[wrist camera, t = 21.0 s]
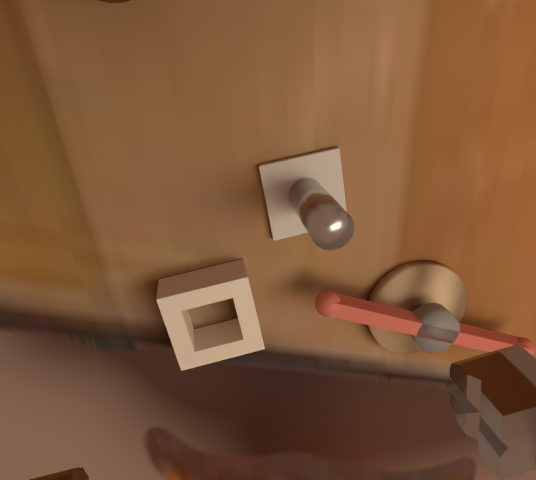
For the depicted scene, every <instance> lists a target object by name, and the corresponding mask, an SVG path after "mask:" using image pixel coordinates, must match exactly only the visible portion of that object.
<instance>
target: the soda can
mask: <svg viewBox="0 0 536 480" xmlns="http://www.w3.org/2000/svg"><path fill="white" fill-rule="evenodd" d="M99 1H103V2H107V3H122V2H127V1H130V0H99Z"/></svg>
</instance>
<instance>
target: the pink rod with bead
mask: <svg viewBox="0 0 536 480" xmlns="http://www.w3.org/2000/svg"><path fill="white" fill-rule="evenodd" d="M315 306H316V309H317V311H318V312H319V313H320V314H322V315H324V316H329V317H334V318H338V319H343V320H347V321H352V322H356V323H361V324H365V325H370V326H374V327H379V328H383V329H388V330H392V331H397V332H401V333H406V334H409V335H410V336H411V338H412V339H413V340H414V342H415V343H416V344H417V345H418V347H419V348H420V349H421V350H423V351H425V352H428V353H436V352H440V351H442V350H445V349H446V348H448V347H449V346H451V345H452V344H455V345H459V346H464V347H468V348H473V349H477V350H482V351H486V352H492V351H493V352H494V351H496V350H499V349H503V348H506V347H510V346H513V345H519V346H521V347H523V348H524V349H525V350H526V351H527V352H529V353H530V354H531V355H532V356H534V354H535V346H534V344H533V343H532V342H531V341H530V340H529V339H527V338H522V337H516V336H512V335H508V334H503V333H499V332H495V331H491V330H487V329H483V328H479V327H474V326H470V325H466V324H462V323H459V322H458V320H457V319H456V318H455V317H454V316H453V315H452V314H451V313H450V312H449V311H448V310H447V309H446V308H445V307H444V306H443V305H441V304H438V303H427V304H424V305H422V306H420V307H418V308H417V309H416V310H414V311H413V312H412V311H408V310H404V309H400V308H396V307H392V306H388V305H383V304H379V303H375V302H371V301H367V300H363V299H359V298H354V297H350V296H346V295H342V294H338V293H335V292H333V291H323V292H321V293H320V294H319V295H318V296H317V298H316V301H315Z"/></svg>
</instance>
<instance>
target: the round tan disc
mask: <svg viewBox="0 0 536 480" xmlns="http://www.w3.org/2000/svg"><path fill="white" fill-rule="evenodd" d="M367 301H371V302H375V303H379V304H383V305H388V306H392V307H396V308H400V309H404V310H408V311H412V312H413V311H414V310H416V309H417V308H418V307H420V306H422V305H424V304H427V303H438V304H441V305H443V306H444V307H445V308H446V309H447V310H448V311H449V312H450V313H451V314H452V315H453V316H454V317H455V318H456V319H457V320H458V322H459V323H460V322H461V320H462V318H463V316H464V313H465V310H466V306H467V292H466V288H465V286H464V284H463V282H462V280H461V279H460V278H459V277H458V276H457V275H456V274H455V273H454V272H453V271H452V270H450V269H449V268H448V267H447V266H445V265H443V264H441V263H438V262H435V261H429V260H420V261H413V262H409V263H406V264H403V265H401V266H399V267H397V268H395V269H393V270H392V271H390V272H389V273H388V274H386V275H385V276H384V277H383V278H382V279H381V280H380V281H379V282H378V283H377V284H376V286H375V287H374V288H373V290H372V292H371V294H370V296H369V298H368V300H367ZM367 326H368V328H369V330H370V332H371V333H372V335H373V336H374V338H375V339H376V341H377V342H378V343H379V344H380V345H381V346H382V347H384V348H386V349H387V350H390V351H392V352H396V353H402V354H410V353H417V352H421V351H423V350H421V349H420V348H419V347H418V345H417V344H416V343H415V342H414V340H413V339H412V338H411V336H410V335H409V334H406V333H401V332H397V331H392V330H388V329H383V328H379V327H374V326H370V325H367Z"/></svg>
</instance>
